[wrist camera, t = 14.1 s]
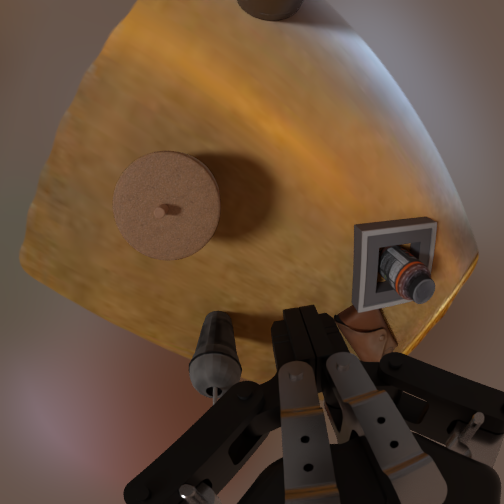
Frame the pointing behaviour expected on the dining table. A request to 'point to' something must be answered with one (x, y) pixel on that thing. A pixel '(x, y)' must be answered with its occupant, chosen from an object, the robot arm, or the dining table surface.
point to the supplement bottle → (406, 274)
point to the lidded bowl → (167, 205)
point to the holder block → (367, 253)
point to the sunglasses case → (366, 333)
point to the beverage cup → (215, 357)
